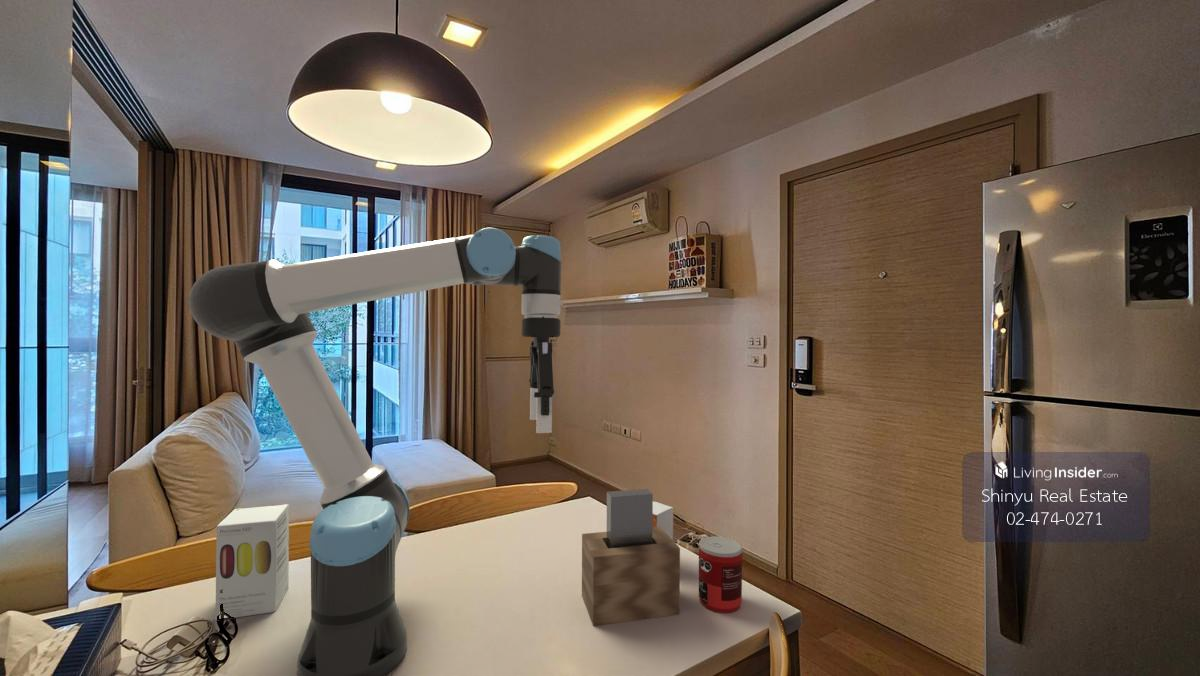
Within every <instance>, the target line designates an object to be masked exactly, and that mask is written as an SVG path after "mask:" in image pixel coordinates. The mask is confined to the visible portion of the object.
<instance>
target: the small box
mask: <svg viewBox="0 0 1200 676" xmlns="http://www.w3.org/2000/svg"><path fill="white" fill-rule="evenodd" d="M652 527H661V528H662V529H663V530H664V531H665V532H666V533H667V534H668V536H669V537H670V538H671V539H672V540H673V541H674V507H673V506H669V505H668V504H667V505H666V504H663V503H660V502H657V501H653V519H652Z"/></svg>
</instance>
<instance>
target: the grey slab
mask: <svg viewBox="0 0 1200 676" xmlns="http://www.w3.org/2000/svg"><path fill="white" fill-rule="evenodd" d="M653 495H654V494H653V493H652V492H651V491H650V490H649V489H648V488H643V489H641V488H640V489H639V488H638V489H627V490H613V491H606V532H607V548H608V549H609V548H619V547H629V546H639V545H649V544H652V519H653V498H654V497H653Z"/></svg>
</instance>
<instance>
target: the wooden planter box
mask: <svg viewBox="0 0 1200 676" xmlns="http://www.w3.org/2000/svg"><path fill="white" fill-rule="evenodd" d="M680 574H681V548H680V546H679V545H678V544H677V543H676V542H675V541H674V539H673V540H672V539H671V538H670V537H669V536H668V534H667V533H666V532H665V531H664V530H663V529H662V528H661V527H652V544H649V545H639V546H629V547H619V548H609V549H608V548H607V531H600V532H598V531H597V532H589V533H587V532H586V533H582V534H581V597H582V600H583V602H584V605H585V607H586V608H585V609H586V611H587V613H588V616H589V619H590V621H591V624H592V627H594V626H595V627H596V626H601V625H610V624H617V623H624V622H632V621H641V620H647V619H654V618H659V617H660V618H661V617H668V616H674V615H675V616H676V615H680V595H681V593H680V590H681V589H680V582H681V578H680V577H681V575H680Z"/></svg>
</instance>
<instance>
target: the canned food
mask: <svg viewBox="0 0 1200 676" xmlns="http://www.w3.org/2000/svg"><path fill="white" fill-rule="evenodd" d="M742 582H743V545H741V544H740V543H739V542H738V541H737V540H734V539H731V538H728V537H725V536H718V535H717V536H715V535H713V536H707V537H703V538H701V539H700V540H699V543H698V599H699V602H700V603H701V605H702V606H704V607H705V608H707V609H708V610H710V611H712V612H716V613H722V614H726V613H727V614H728V613H733V612H736V611H738V610H739V609H740V607H741V605H742V601H743V600H742V598H743V597H742V594H743V591H742V590H743V583H742Z"/></svg>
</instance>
